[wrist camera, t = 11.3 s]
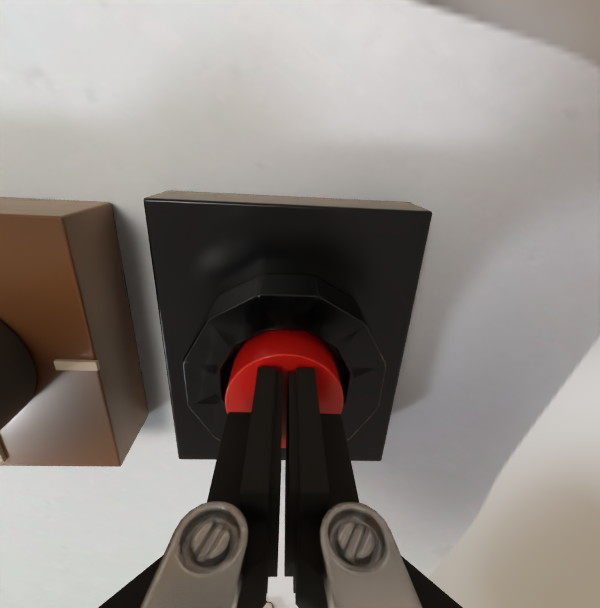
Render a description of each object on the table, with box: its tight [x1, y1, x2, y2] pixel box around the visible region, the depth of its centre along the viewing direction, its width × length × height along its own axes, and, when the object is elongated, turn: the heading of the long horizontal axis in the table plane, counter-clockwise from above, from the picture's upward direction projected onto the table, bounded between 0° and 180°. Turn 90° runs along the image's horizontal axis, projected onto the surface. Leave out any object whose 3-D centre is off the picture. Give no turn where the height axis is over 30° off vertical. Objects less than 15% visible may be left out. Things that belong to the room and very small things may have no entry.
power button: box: [225, 330, 344, 448], centre depth 11 cm, size 4×4×2 cm
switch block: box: [144, 191, 432, 461], centre depth 13 cm, size 11×9×4 cm
